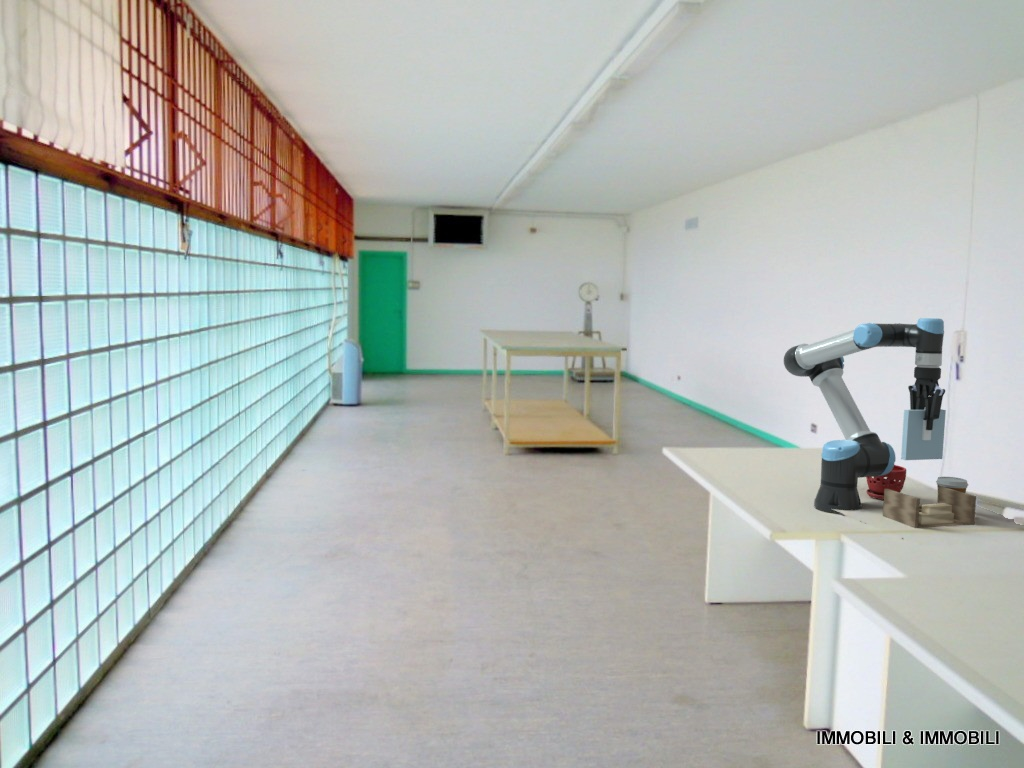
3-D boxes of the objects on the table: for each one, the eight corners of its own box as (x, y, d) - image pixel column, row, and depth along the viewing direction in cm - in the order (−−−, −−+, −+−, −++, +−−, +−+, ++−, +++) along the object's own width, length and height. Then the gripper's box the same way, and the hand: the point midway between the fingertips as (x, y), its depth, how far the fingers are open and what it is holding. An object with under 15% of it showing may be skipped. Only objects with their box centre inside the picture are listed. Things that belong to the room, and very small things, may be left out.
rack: (882, 520, 246) (884, 488, 245) (939, 517, 251) (941, 486, 251) (914, 532, 233) (916, 499, 232) (973, 529, 238) (976, 496, 237)
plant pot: (864, 499, 275) (866, 467, 274) (865, 492, 287) (866, 461, 285) (905, 504, 269) (907, 470, 268) (903, 496, 281) (905, 464, 280)
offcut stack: (913, 521, 240) (914, 504, 239) (945, 519, 243) (946, 502, 242) (922, 524, 236) (923, 507, 236) (954, 522, 239) (955, 505, 239)
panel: (901, 459, 244) (904, 409, 242) (937, 457, 247) (940, 409, 245) (905, 460, 242) (908, 410, 240) (942, 459, 245) (945, 410, 243)
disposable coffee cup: (973, 517, 252) (975, 482, 251) (947, 518, 251) (950, 482, 249) (952, 510, 261) (954, 476, 260) (927, 510, 260) (929, 476, 259)
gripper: (900, 364, 248) (896, 435, 250) (936, 368, 233) (931, 443, 236) (920, 364, 250) (915, 435, 252) (956, 368, 235) (951, 443, 237)
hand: (923, 439), depth 244 cm, fingers closed on panel, 2 cm apart
